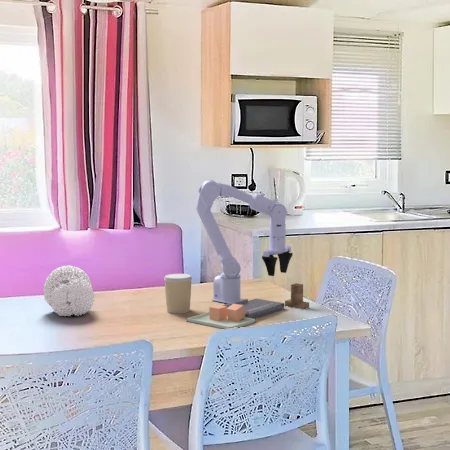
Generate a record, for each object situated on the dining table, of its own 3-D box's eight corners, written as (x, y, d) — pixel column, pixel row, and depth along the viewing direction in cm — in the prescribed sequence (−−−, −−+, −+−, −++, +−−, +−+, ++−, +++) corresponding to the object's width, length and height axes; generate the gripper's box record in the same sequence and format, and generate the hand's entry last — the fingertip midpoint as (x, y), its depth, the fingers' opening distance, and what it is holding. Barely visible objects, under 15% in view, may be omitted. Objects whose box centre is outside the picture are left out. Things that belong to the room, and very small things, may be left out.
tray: (186, 321, 240) (186, 318, 240) (212, 313, 250) (212, 310, 250) (230, 330, 229) (230, 327, 229) (255, 322, 238) (255, 319, 238)
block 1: (217, 316, 245) (209, 319, 242) (217, 304, 244) (209, 307, 241) (226, 318, 242) (219, 321, 239) (226, 306, 242) (219, 308, 239)
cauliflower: (28, 286, 254) (57, 249, 251) (67, 302, 266) (95, 267, 263) (44, 323, 240) (75, 284, 237) (86, 338, 252) (115, 301, 249)
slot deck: (219, 314, 248) (219, 306, 248) (256, 304, 263) (256, 295, 263) (248, 320, 241) (248, 311, 240) (284, 308, 256) (284, 300, 256)
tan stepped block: (284, 306, 260) (285, 283, 259) (289, 304, 262) (289, 282, 261) (304, 309, 255) (304, 286, 254) (309, 308, 257) (309, 285, 256)
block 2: (228, 319, 241) (226, 308, 239) (235, 314, 244) (233, 303, 242) (237, 321, 238) (236, 310, 237) (245, 316, 241) (243, 305, 240)
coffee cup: (196, 308, 257) (195, 274, 256) (186, 314, 249) (185, 279, 247) (171, 306, 260) (170, 272, 259) (160, 312, 252) (159, 277, 250)
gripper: (274, 239, 259) (274, 278, 261) (298, 235, 270) (298, 272, 272) (258, 238, 263) (258, 276, 265) (282, 233, 275) (282, 270, 276)
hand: (277, 274), depth 269 cm, fingers open, 7 cm apart
